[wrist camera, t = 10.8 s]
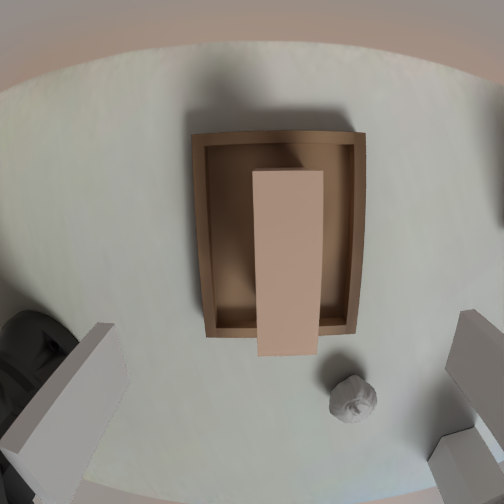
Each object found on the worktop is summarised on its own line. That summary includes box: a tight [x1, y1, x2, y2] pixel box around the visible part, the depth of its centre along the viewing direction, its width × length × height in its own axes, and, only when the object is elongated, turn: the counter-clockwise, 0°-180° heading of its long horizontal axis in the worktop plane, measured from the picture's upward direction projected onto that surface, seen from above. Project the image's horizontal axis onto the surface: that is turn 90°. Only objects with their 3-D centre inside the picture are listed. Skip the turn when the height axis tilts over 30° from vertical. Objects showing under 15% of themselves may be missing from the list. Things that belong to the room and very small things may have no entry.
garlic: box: [329, 375, 377, 423], centre depth 31 cm, size 6×5×5 cm
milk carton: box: [428, 427, 504, 504], centre depth 28 cm, size 7×7×19 cm
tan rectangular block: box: [252, 167, 323, 356], centre depth 24 cm, size 4×12×9 cm, turn 2°
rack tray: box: [191, 130, 366, 338], centre depth 27 cm, size 14×18×2 cm
